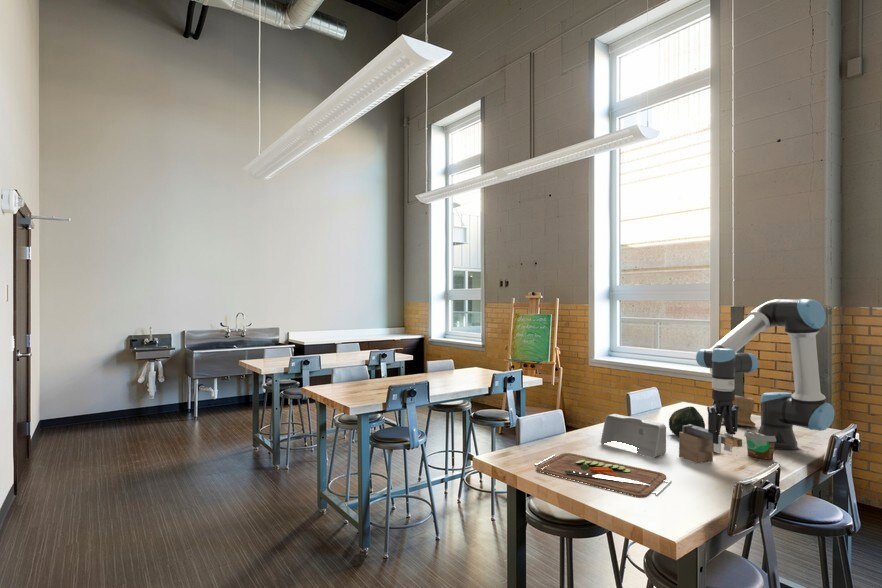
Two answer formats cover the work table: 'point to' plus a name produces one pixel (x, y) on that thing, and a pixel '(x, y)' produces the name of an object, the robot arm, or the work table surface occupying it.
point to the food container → (760, 445)
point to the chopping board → (604, 474)
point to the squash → (685, 419)
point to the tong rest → (697, 446)
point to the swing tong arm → (710, 435)
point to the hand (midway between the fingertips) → (722, 451)
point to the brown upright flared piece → (744, 410)
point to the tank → (636, 434)
